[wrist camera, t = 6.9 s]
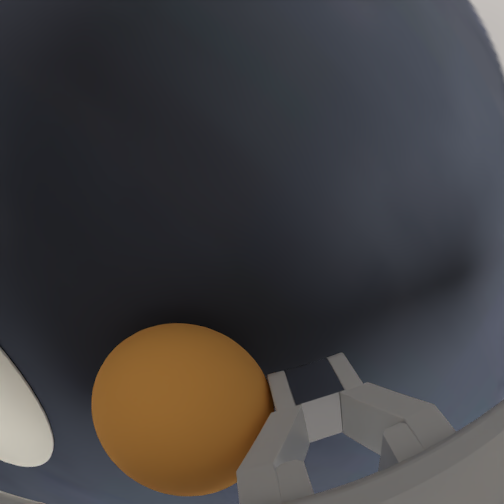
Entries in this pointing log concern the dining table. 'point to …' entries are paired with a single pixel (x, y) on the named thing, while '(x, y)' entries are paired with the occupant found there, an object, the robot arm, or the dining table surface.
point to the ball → (180, 408)
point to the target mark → (21, 420)
